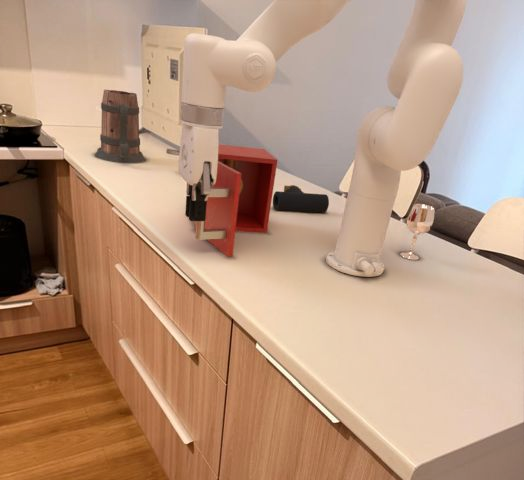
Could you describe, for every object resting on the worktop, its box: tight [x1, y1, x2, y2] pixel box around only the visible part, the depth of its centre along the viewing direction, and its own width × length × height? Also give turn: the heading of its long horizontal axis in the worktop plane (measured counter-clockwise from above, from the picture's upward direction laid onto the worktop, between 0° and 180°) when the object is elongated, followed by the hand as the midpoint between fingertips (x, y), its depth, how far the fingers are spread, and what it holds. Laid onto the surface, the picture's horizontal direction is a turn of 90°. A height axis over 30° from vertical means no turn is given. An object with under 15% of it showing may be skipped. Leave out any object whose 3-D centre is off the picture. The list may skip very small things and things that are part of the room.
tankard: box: [94, 89, 147, 164], centre depth 164 cm, size 24×17×20 cm
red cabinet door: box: [194, 161, 242, 258], centre depth 104 cm, size 7×17×17 cm, turn 30°
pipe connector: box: [272, 184, 330, 213], centre depth 145 cm, size 12×5×15 cm
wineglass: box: [399, 203, 436, 261], centre depth 119 cm, size 6×6×12 cm
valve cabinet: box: [192, 144, 278, 234], centre depth 120 cm, size 12×17×17 cm
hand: (195, 218), depth 99 cm, fingers closed on red cabinet door
